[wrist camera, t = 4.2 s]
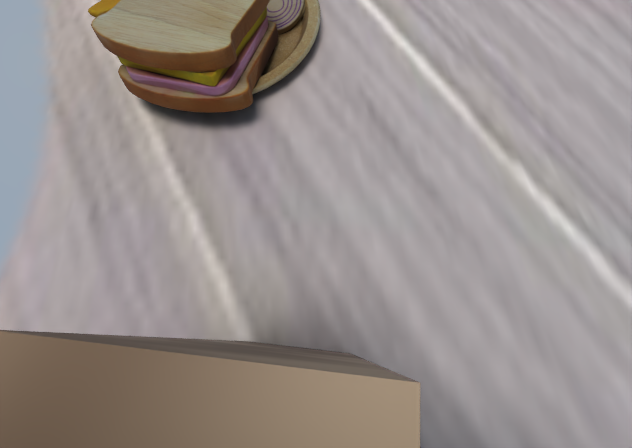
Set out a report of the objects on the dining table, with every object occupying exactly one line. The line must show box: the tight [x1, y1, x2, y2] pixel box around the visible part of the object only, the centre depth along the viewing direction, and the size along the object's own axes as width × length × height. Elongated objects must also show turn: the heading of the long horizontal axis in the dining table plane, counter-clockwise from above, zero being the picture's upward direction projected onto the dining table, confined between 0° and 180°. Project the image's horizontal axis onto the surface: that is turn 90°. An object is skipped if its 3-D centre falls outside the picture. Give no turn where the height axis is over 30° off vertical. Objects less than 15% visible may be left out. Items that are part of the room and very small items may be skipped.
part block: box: [0, 330, 420, 448], centre depth 8 cm, size 4×4×12 cm
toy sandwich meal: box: [88, 0, 320, 113], centre depth 19 cm, size 12×14×5 cm
